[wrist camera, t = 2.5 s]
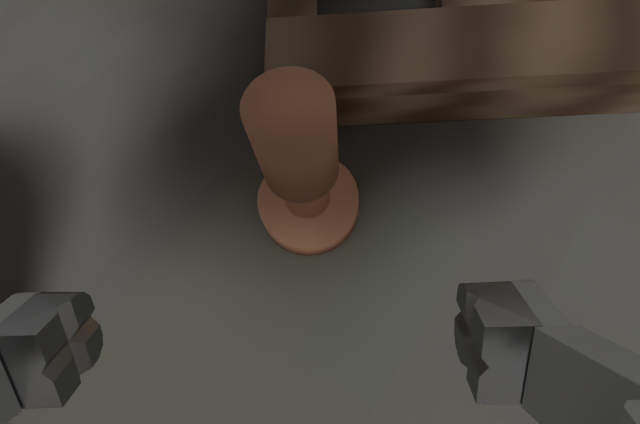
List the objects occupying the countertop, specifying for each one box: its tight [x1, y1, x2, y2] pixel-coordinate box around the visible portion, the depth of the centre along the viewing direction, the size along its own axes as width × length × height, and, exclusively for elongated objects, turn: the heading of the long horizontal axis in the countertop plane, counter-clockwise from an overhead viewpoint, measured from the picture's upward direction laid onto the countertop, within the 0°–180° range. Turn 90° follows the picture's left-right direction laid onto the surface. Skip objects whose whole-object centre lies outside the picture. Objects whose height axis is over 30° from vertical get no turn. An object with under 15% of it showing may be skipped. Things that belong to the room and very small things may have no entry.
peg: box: [240, 66, 359, 255], centre depth 18 cm, size 5×5×9 cm
